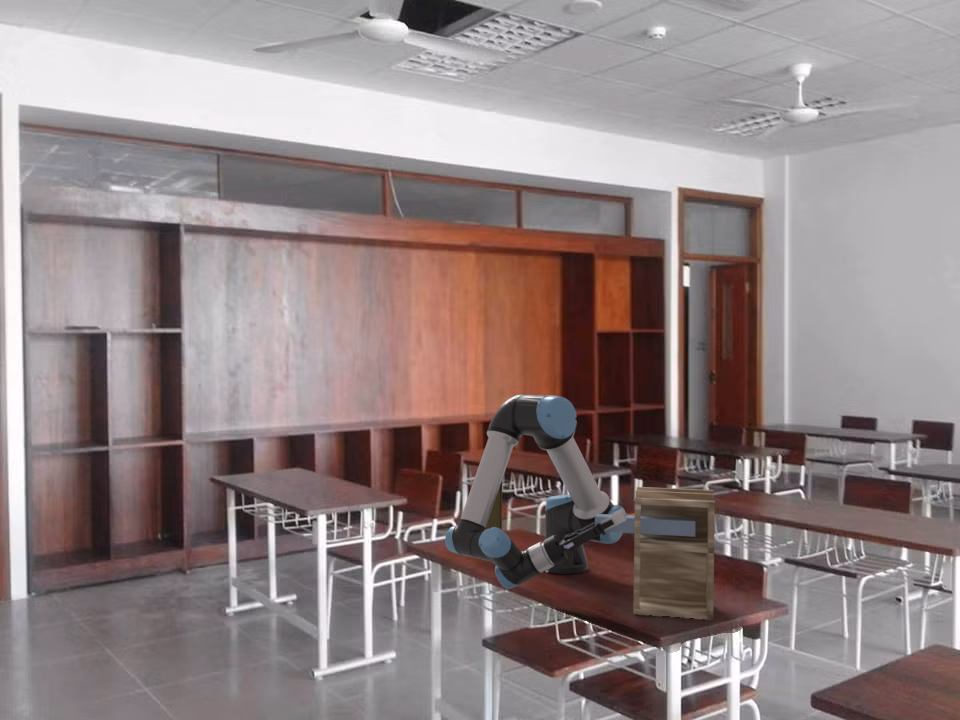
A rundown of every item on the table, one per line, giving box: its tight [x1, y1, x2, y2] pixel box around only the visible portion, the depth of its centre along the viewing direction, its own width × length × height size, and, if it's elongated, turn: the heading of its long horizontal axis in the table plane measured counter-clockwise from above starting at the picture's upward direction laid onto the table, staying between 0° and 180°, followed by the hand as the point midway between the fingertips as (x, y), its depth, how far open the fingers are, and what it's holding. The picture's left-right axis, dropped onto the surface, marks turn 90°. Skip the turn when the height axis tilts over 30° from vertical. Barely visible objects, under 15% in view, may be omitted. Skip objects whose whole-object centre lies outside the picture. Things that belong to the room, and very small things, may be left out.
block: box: [595, 514, 695, 537], centre depth 237 cm, size 4×26×4 cm, turn 77°
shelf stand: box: [632, 486, 716, 621], centre depth 236 cm, size 14×20×32 cm
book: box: [485, 481, 503, 531], centre depth 303 cm, size 16×6×25 cm, turn 12°
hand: (624, 513), depth 238 cm, fingers closed on block, 4 cm apart
